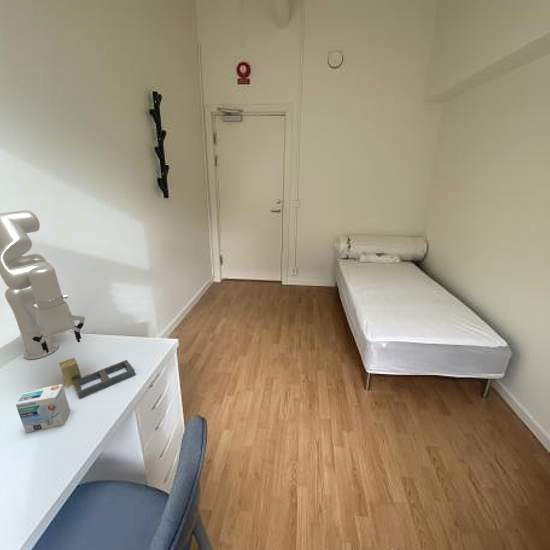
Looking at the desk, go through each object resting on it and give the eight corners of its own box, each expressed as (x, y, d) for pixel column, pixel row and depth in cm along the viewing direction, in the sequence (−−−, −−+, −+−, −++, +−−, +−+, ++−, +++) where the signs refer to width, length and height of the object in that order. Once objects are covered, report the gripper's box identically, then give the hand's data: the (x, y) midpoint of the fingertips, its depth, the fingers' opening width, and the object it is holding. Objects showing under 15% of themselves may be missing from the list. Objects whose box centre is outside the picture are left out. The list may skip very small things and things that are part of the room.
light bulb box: (25, 433, 97) (14, 404, 93) (34, 417, 103) (24, 390, 99) (64, 425, 99) (55, 397, 96) (71, 410, 105) (63, 383, 102)
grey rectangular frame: (74, 386, 117) (72, 381, 116) (127, 365, 129) (126, 359, 128) (79, 399, 110) (77, 393, 110) (135, 375, 122) (134, 369, 121)
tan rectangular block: (64, 381, 120) (58, 363, 118) (79, 375, 123) (74, 357, 121) (66, 387, 117) (61, 368, 114) (82, 381, 120) (77, 363, 117)
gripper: (76, 292, 117) (87, 333, 123) (18, 306, 107) (32, 351, 112) (81, 297, 112) (92, 340, 117) (19, 313, 101) (35, 360, 107)
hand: (63, 346), depth 115 cm, fingers open, 9 cm apart
